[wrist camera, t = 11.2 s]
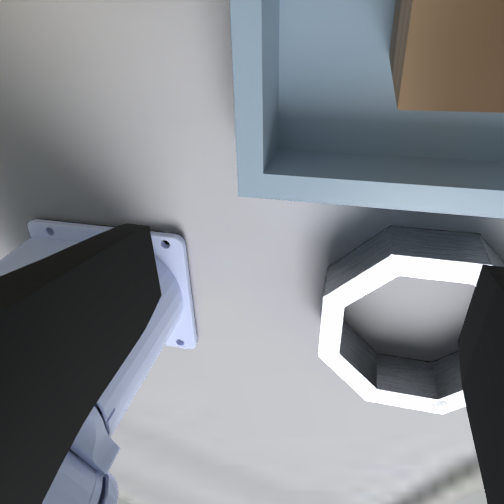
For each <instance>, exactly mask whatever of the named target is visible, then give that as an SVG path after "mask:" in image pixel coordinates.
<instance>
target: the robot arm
mask: <svg viewBox="0 0 504 504" xmlns="http://www.w3.org/2000/svg"><path fill="white" fill-rule="evenodd" d="M27 227H28V231H29V234H30V237H31V238H30V239H28V240H27V241H26V242H24V243H23V244H22V245H20V246H19V247H18V248H16V249H15V250H13V251H12V252H11V253H9V254H8V255H7V256H5V257H4V258H3V259H1V260H0V504H117V499H118V485H117V482H116V479H115V478H114V477H113V476H112V475H111V474H110V473H109V472H108V470H109V468H110V467H111V465H112V463H113V461H114V459H115V457H116V456H117V454H118V452H119V450H120V447H119V446H118V445H117V444H116V443H115V442H114V441H113V440H112V439H111V438H110V437H111V435H112V434H113V432H114V430H115V429H116V427H117V425H118V424H119V422H120V420H121V418H122V417H123V415H124V413H125V412H126V410H127V408H128V407H129V405H130V403H131V401H132V400H133V398H134V396H135V395H136V393H137V391H138V390H139V388H140V386H141V384H142V383H143V381H144V379H145V378H146V376H147V374H148V373H149V371H150V369H151V367H152V366H153V364H154V362H155V361H156V359H157V357H158V356H159V354H160V352H161V350H162V349H163V347H164V345H167V346H173V347H179V348H185V349H193V348H195V346H196V344H197V334H196V325H195V317H194V309H193V301H192V293H191V285H190V277H189V269H188V260H187V252H186V244H185V241H184V239H183V238H182V237H181V236H180V235H177V234H171V233H162V232H152V231H150V227H149V226H142V225H133V224H124V225H121V226H117V227H106V226H96V225H87V224H77V223H68V222H59V221H49V220H40V219H33V220H32V221H30V222H29V223H28V225H27ZM51 229H53V231H52V230H51ZM164 240H166V241H168V242H169V244H170V245H167V244H166V243H165V242H164ZM180 339H181V340H182V341H181V340H180ZM458 346H459V361H460V373H461V384H462V389H463V394H464V399H465V404H466V408H467V413H468V418H469V422H470V427H471V431H472V435H473V440H474V444H475V449H476V453H477V458H478V462H479V467H480V471H481V476H482V480H483V484H484V489H485V493H486V498H487V504H504V267H501V266H492V265H484V264H483V265H482V268H481V271H480V274H479V277H478V281H477V284H476V287H475V290H474V293H473V296H472V299H471V302H470V305H469V309H468V312H467V315H466V318H465V321H464V324H463V327H462V330H461V333H460V337H459V340H458Z"/></svg>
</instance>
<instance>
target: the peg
mask: <svg viewBox="0 0 504 504" xmlns="http://www.w3.org/2000/svg"><path fill="white" fill-rule="evenodd" d="M389 59H390V66H391V72H392V79H393V85H394V92H395V98H396V105H397V110H411V111H453V112H495V113H504V0H396V3H395V11H394V19H393V27H392V36H391V44H390V52H389Z"/></svg>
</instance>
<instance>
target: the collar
mask: <svg viewBox="0 0 504 504" xmlns="http://www.w3.org/2000/svg"><path fill="white" fill-rule="evenodd" d="M483 264H484V265H492V266H501V267H504V263H503V261H502V260H501V259H500V258H499V257H498V256H497V254H496V253H495V252H494V251H493V250H492V249H491V247H490V246H489V245H488V244H487V243H486V242H485V240H484V239H483V238H482V237H481V235H480V234H473V233H462V232H451V231H440V230H429V229H419V228H408V227H397V226H390V227H388V228H387V229H385V230H384V231H382V232H381V233H379V234H378V235H376V236H375V237H373V238H372V239H370V240H368V241H367V242H365V243H364V244H362V245H361V246H359V247H358V248H356V249H355V250H353V251H352V252H350V253H349V254H347V255H346V256H344V257H343V258H341V259H340V260H338V261H337V262H335V263H334V264H332V265H331V266H329V267H328V268H327V274H326V280H325V285H324V291H323V297H322V298H323V303H322V315H321V327H320V339H319V350H318V357H320V358H321V359H322V360H323V361H324V362H325V363H326V364H327V365H328V366H329V367H330V368H331V369H332V370H334V371H335V372H336V373H337V374H338V375H339V376H340V377H341V378H342V379H343V380H344V381H345V382H346V383H347V384H349V385H350V386H351V387H352V388H353V389H354V390H355V391H356V392H357V393H358V394H359V395H360V396H361V397H362V398H364V399H365V401H370V402H375V403H381V404H387V405H392V406H398V407H403V408H409V409H414V410H420V411H426V412H431V413H437V414H442V415H443V414H445V413H448V412H451V411H454V410H457V409H459V408H462V407H465V406H466V404H465V399H464V394H463V389H462V384H461V373H460V361H459V351H458V352H456V353H453V354H451V355H449V356H446V357H444V358H442V359H439V360H437V361H435V362H433V363H432V362H426V361H419V360H413V359H406V358H400V357H394V356H387V355H381V354H376V353H375V352H374V351H373V350H372V349H371V348H370V347H369V346H368V345H367V344H366V343H365V342H364V341H363V340H362V339H361V338H360V337H359V336H358V335H357V334H356V333H355V332H354V331H353V330H352V329H351V328H350V327H349V326H348V325H347V324H346V323H345V322H344V321H343V316H344V307H346V306H348V305H349V304H351V303H353V302H354V301H356V300H358V299H360V298H361V297H363V296H365V295H367V294H368V293H370V292H372V291H373V290H375V289H377V288H379V287H380V286H382V285H384V284H385V283H387V282H389V281H391V280H392V279H394V278H396V277H398V276H405V277H413V278H422V279H431V280H439V281H448V282H457V283H465V284H474V285H475V287H476V284H477V281H478V277H479V274H480V271H481V268H482V265H483Z"/></svg>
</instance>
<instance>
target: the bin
mask: <svg viewBox="0 0 504 504" xmlns="http://www.w3.org/2000/svg"><path fill="white" fill-rule="evenodd" d="M395 3H396V0H230V15H231V38H232V61H233V84H234V107H235V130H236V153H237V176H238V196H240V197H252V198H264V199H276V200H288V201H300V202H312V203H324V204H336V205H348V206H360V207H372V208H384V209H396V210H408V211H419V212H431V213H443V214H455V215H467V216H479V217H491V218H503V219H504V113H495V112H453V111H411V110H397V105H396V98H395V92H394V85H393V79H392V72H391V66H390V59H389V52H390V44H391V36H392V27H393V19H394V11H395Z"/></svg>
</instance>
